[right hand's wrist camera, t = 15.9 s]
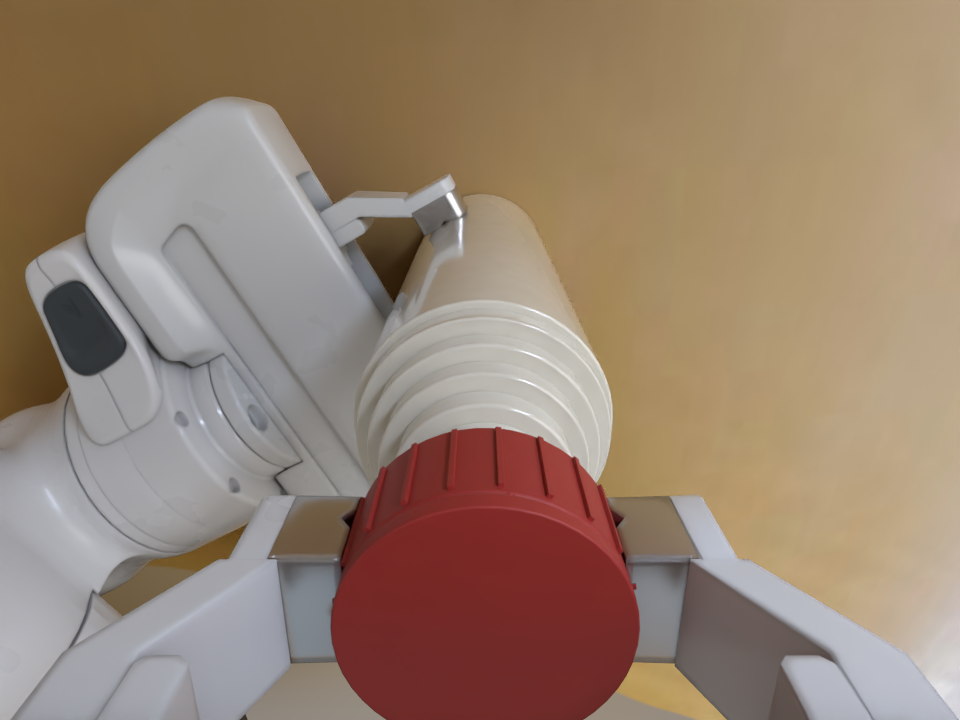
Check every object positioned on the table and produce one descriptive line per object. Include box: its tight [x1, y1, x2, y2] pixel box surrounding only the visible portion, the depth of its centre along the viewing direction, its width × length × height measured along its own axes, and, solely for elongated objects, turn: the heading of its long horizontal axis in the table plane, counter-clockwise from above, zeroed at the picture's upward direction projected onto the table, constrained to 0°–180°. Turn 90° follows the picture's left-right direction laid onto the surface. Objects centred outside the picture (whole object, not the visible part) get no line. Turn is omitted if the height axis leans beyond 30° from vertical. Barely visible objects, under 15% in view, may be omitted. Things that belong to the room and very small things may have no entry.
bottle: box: [354, 194, 613, 485], centre depth 19 cm, size 6×6×23 cm
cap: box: [330, 427, 640, 720], centre depth 9 cm, size 4×4×2 cm
